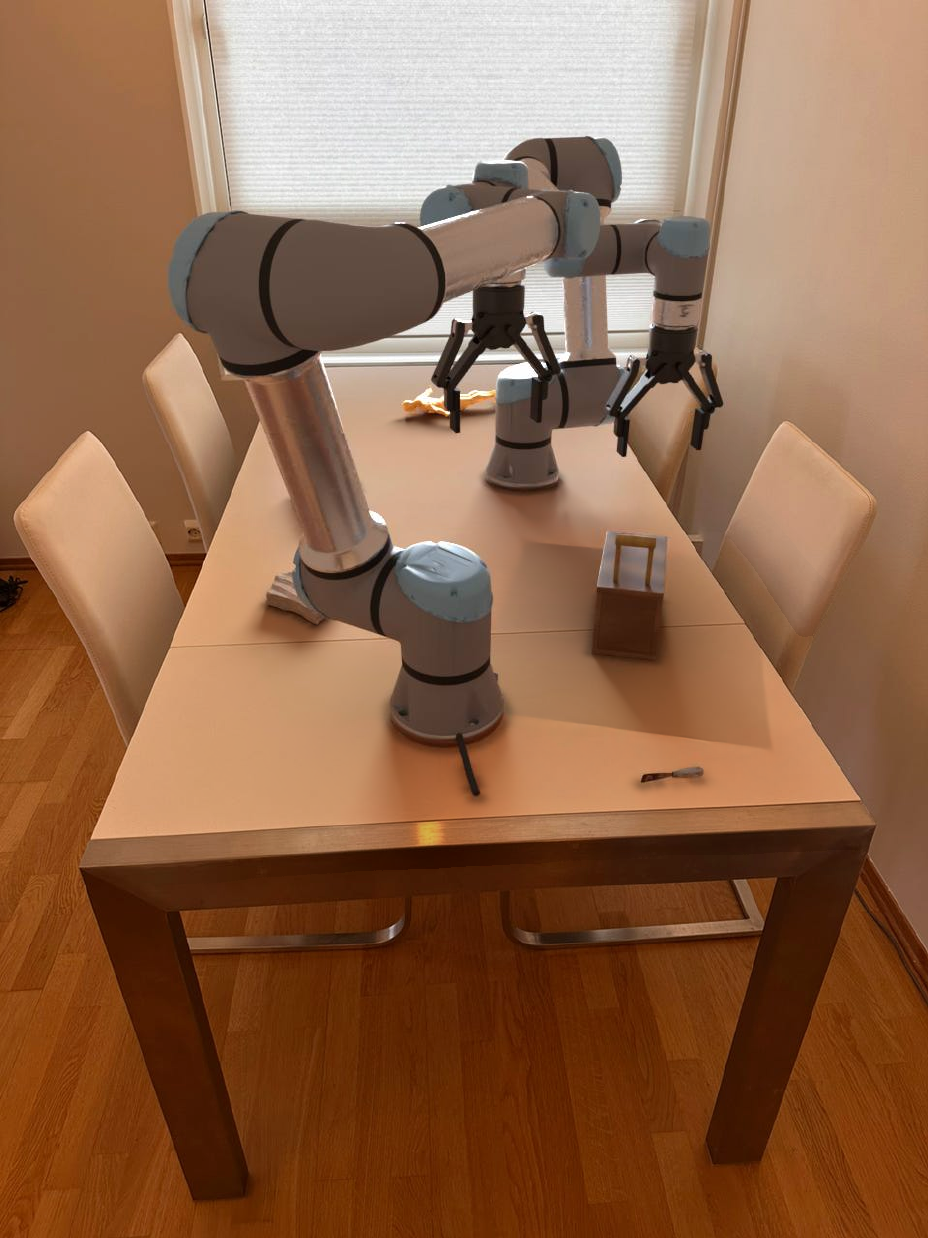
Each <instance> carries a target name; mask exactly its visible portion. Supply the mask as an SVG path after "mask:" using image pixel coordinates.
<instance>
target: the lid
mask: <svg viewBox="0 0 928 1238" xmlns="http://www.w3.org/2000/svg"><path fill="white" fill-rule="evenodd" d="M667 551H668V536H665V535H664V536H663V535H655V534H653V535H652V534H642V533H630V532H619V531H610V530H607V531H606V536H605V541H604V547H603V552H602V556H601V562H600V567H599V574H598V579H597V582H596V583H597V584H596V590H595V591H596V593H597V592H598V593H608V594H617V595H627V596H636V597H646V598H656V599H663V600H664V597H665V586H666V585H665V584H666V567H667Z"/></svg>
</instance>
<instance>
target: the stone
mask: <svg viewBox="0 0 928 1238" xmlns="http://www.w3.org/2000/svg"><path fill="white" fill-rule="evenodd" d="M265 597H266V600H265V604H266V605H267V606H268V605H269V606H271V607H275V608H278V609H281V610H282V611H289V612H292V613H296V614H297V615H299V616H301V617H302V618H304V619H305V620H307V621H309V622H311V623H312V624H315V625H319V624H320V622H321V621H323V620H324V619H326V617H324V616H322V615H320V614H318V613H317V612H315V611H313V610H311V609H309V608H308V607H307V606H305V605H304V604H303V603H302V601H301V600H300V599H299V597H298V595H297V593H296V591H295V588H294V585H293V579H292V571H289V572H287V573H281V572H279V573H277V574H275V576H274V579H273V581H272V584H271V587H270V590H268V591H267V592H266V594H265Z"/></svg>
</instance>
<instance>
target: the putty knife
mask: <svg viewBox="0 0 928 1238" xmlns="http://www.w3.org/2000/svg"><path fill="white" fill-rule="evenodd" d="M704 772H705V771H704V768H702V767H701V766H697V765H695V766H688V767H683V768H679V769H675V770H673V771H671V772H653V773H652V772H651V773H650V772H649V773H644V774H642V776H641V779H640V783H642V784H645V783H648V782H653V781H659V780H665V779H668V778H673V779H674V778H675V779H693V778H694V779H695V778H700V777H702V776H703V775H704Z"/></svg>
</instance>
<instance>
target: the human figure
mask: <svg viewBox="0 0 928 1238" xmlns="http://www.w3.org/2000/svg"><path fill="white" fill-rule="evenodd" d="M424 391H425V392H423V393H422V394H420V395H418V396H416V398H415V399H414V400H404V401H403V402H402V411H404V412H405V413H410V414H412V413H414V412H417V408H418V409H420V410H421V411H423V412H424V413H427V414H439V415H443V416H444V417H450V411H447V410H446V409H445V407H444V394H443V395H442V396H441V397H440V398H434V397H429V396H430V395H432V394H433V392H434V391H433V389H432V385H429V387H428V389H424ZM495 393H496V389H493V390H491V391H478V390H473V391H470V392H469V393H468V394H461V393H460V411H462V410H464V409H467V408H469V407H471V406H473V405H476V404H478V403H481V402H484V401H488V400H493V402H494V403H495V404H496V400H495Z"/></svg>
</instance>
